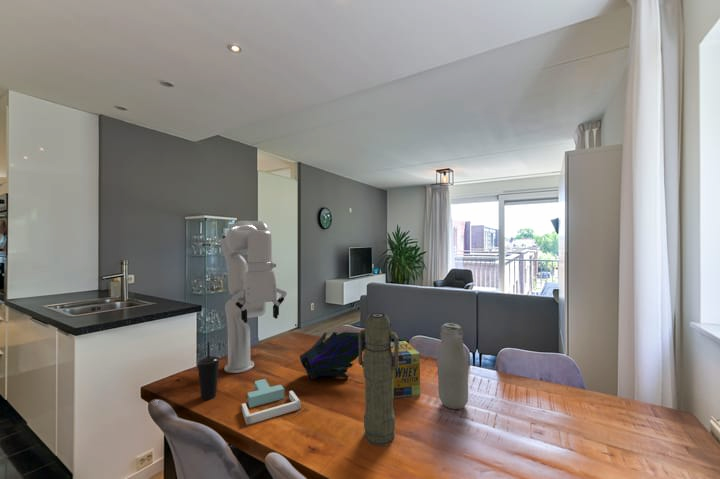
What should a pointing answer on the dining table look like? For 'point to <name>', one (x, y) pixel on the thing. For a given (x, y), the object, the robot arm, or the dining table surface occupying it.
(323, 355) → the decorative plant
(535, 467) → the dining table surface
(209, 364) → the drinking cup
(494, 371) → the dining table surface
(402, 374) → the protein box
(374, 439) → the thermos
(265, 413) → the dock
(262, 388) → the t block
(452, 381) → the pale grey bottle
